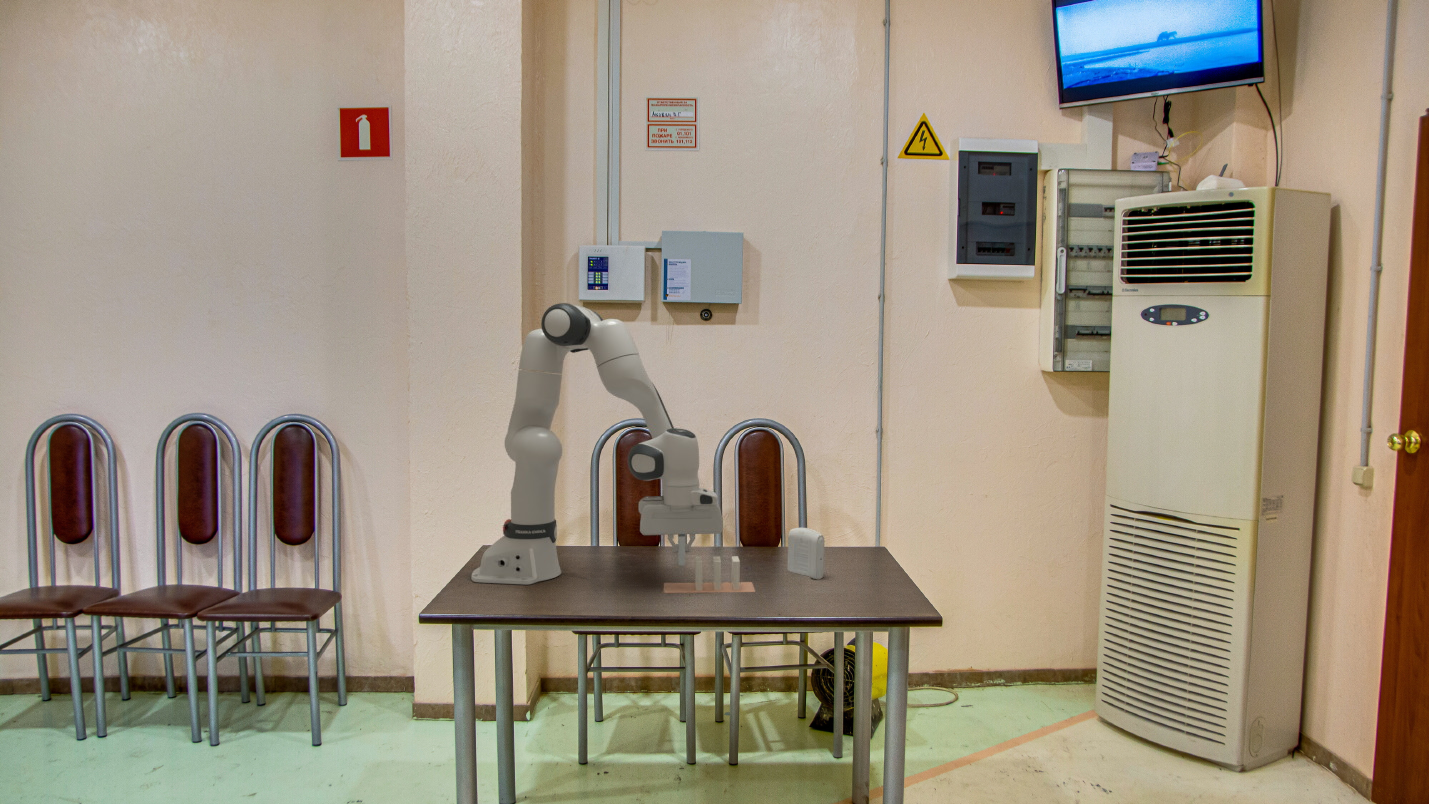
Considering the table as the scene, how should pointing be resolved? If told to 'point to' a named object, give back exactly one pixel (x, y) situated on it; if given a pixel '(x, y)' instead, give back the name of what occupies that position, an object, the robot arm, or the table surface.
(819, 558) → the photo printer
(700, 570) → the domino
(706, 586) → the strip
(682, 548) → the domino
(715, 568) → the domino
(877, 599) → the table surface
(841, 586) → the table surface
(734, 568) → the domino
